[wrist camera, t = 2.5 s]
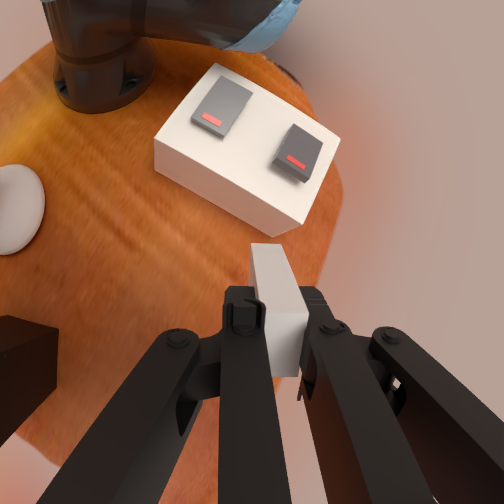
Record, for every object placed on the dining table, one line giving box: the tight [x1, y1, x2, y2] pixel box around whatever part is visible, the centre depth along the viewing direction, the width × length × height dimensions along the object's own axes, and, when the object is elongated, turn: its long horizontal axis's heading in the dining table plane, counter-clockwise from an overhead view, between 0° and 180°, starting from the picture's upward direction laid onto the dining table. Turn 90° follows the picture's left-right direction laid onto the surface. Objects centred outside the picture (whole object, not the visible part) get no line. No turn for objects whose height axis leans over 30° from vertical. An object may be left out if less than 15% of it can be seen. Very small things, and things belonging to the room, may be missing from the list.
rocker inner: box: [191, 75, 253, 139], centre depth 29 cm, size 6×4×1 cm
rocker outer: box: [272, 123, 323, 184], centre depth 30 cm, size 6×4×1 cm
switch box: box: [154, 62, 341, 238], centre depth 35 cm, size 12×17×9 cm
